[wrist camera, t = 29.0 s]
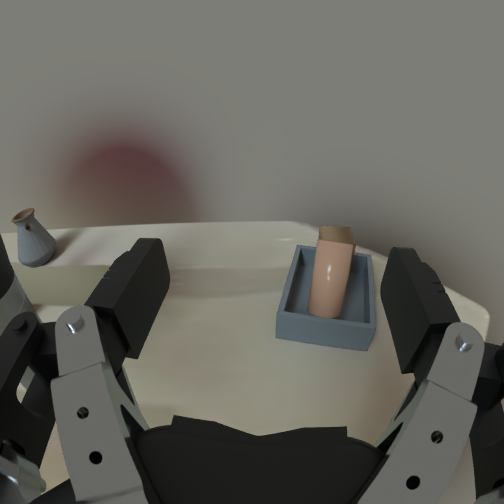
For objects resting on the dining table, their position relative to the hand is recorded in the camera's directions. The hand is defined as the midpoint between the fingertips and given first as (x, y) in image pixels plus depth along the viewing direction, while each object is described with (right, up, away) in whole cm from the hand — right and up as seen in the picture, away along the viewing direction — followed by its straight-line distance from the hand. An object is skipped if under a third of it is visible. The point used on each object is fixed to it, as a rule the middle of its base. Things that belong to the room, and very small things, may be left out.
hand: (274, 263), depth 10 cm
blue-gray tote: (+12, -8, +37) cm, 40 cm away
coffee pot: (-51, -3, +48) cm, 70 cm away
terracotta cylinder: (+9, -8, +31) cm, 33 cm away
